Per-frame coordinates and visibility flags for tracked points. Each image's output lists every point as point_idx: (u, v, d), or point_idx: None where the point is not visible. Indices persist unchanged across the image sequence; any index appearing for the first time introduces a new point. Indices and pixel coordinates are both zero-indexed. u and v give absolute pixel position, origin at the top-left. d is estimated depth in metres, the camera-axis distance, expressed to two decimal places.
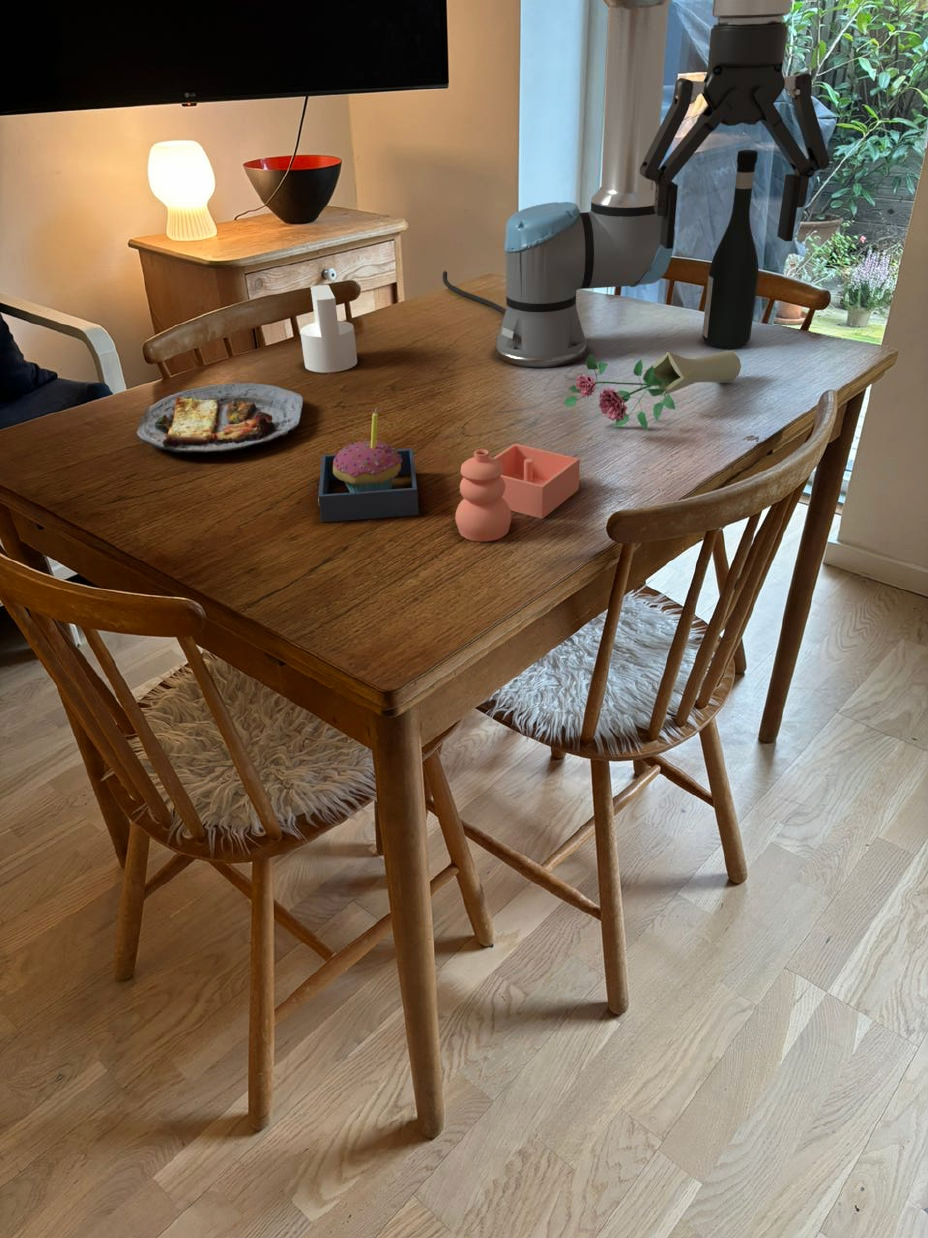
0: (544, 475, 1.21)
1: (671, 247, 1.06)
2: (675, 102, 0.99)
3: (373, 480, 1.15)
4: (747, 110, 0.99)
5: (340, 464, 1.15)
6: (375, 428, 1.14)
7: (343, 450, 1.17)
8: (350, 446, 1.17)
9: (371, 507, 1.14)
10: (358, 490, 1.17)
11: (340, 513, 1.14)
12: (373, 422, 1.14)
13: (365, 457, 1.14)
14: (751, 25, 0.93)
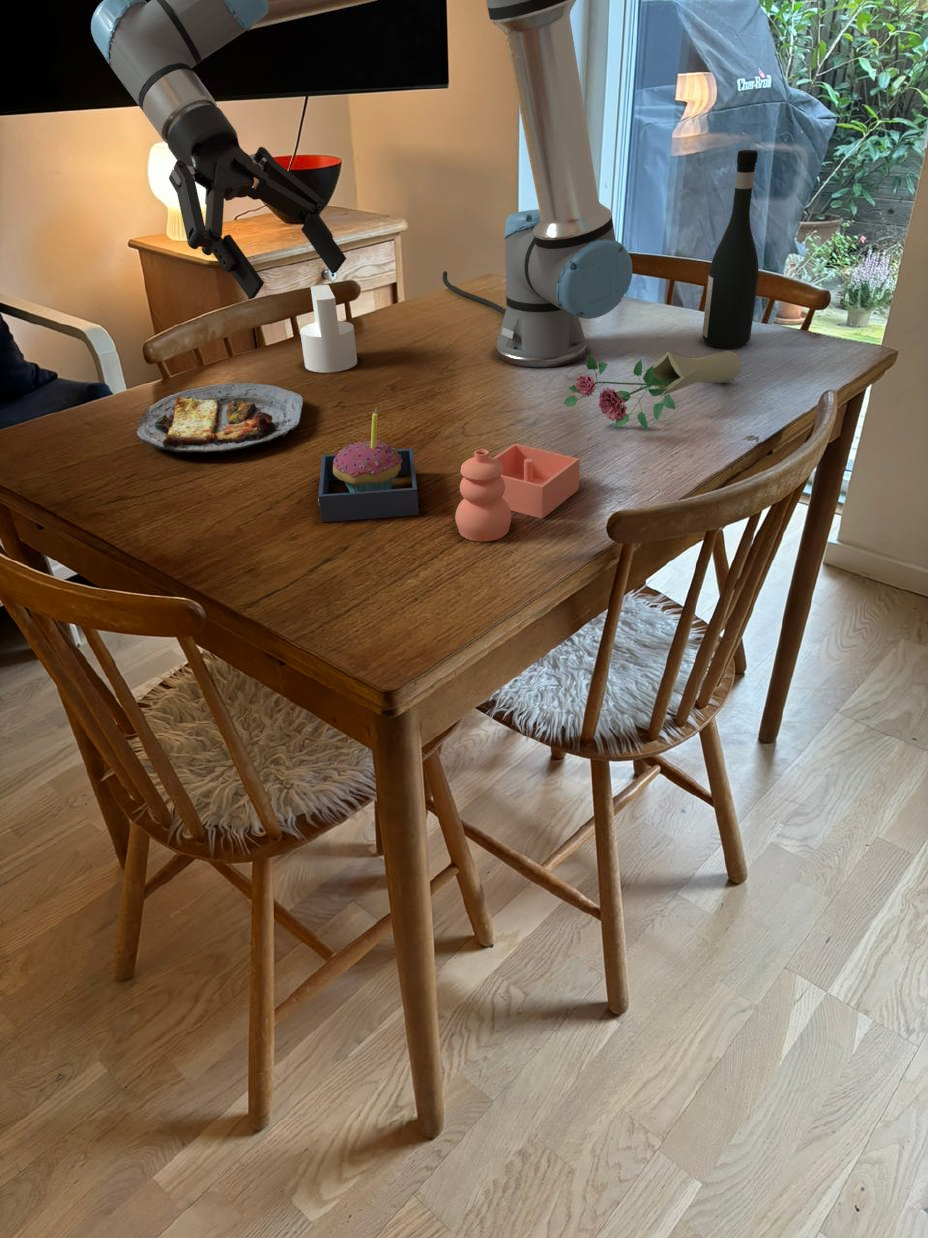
0: (544, 475, 1.21)
1: (332, 272, 1.16)
2: None
3: (373, 480, 1.15)
4: None
5: (340, 464, 1.15)
6: (375, 428, 1.14)
7: (343, 450, 1.17)
8: (350, 446, 1.17)
9: (371, 507, 1.14)
10: (358, 490, 1.17)
11: (340, 513, 1.14)
12: (373, 422, 1.14)
13: (365, 457, 1.14)
14: None
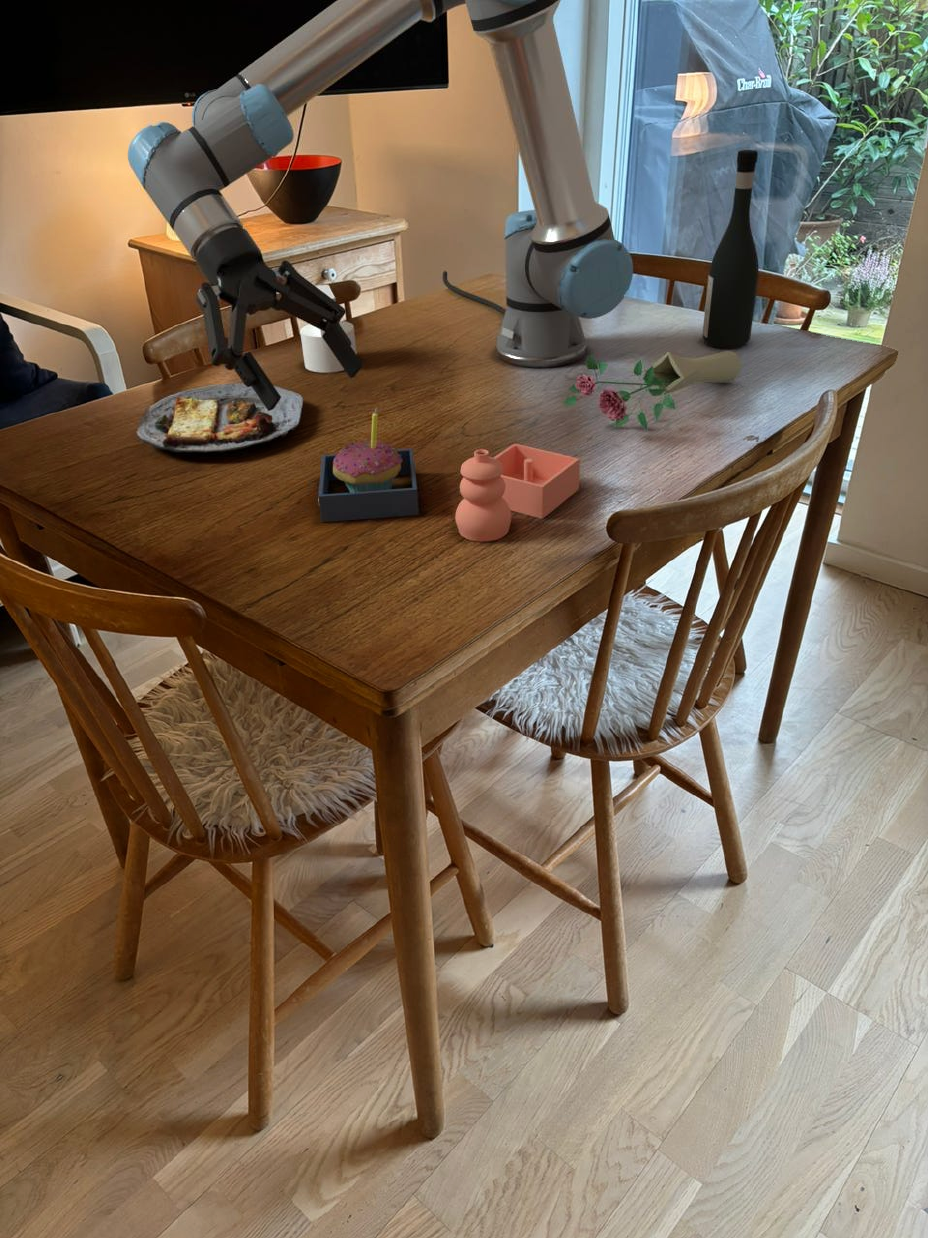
0: (544, 475, 1.21)
1: (350, 377, 1.22)
2: None
3: (373, 480, 1.15)
4: None
5: (340, 464, 1.15)
6: (375, 428, 1.14)
7: (343, 450, 1.17)
8: (350, 446, 1.17)
9: (371, 507, 1.14)
10: (358, 490, 1.17)
11: (340, 513, 1.14)
12: (373, 422, 1.14)
13: (365, 457, 1.14)
14: None
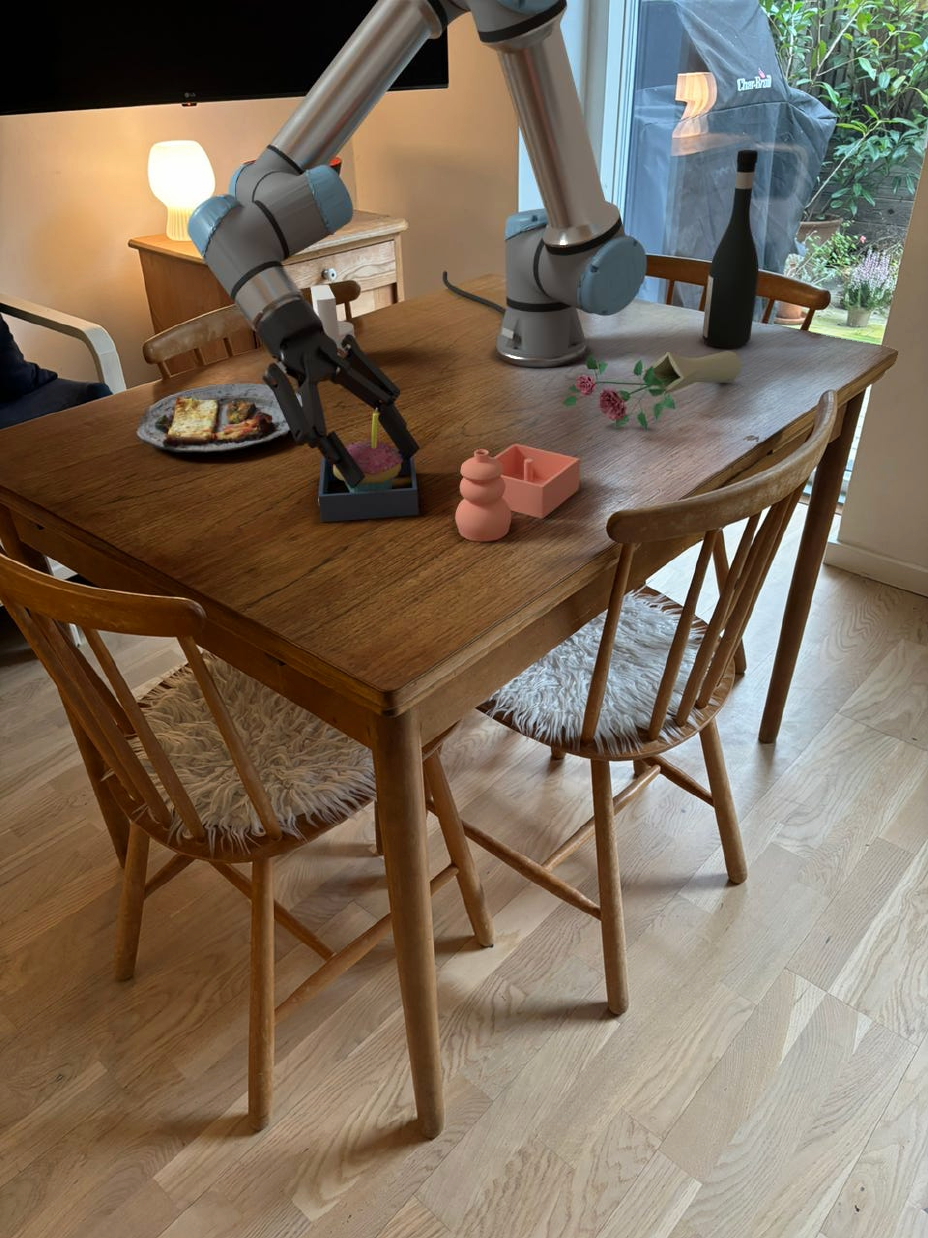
0: (544, 475, 1.21)
1: (406, 459, 1.20)
2: None
3: (373, 480, 1.15)
4: None
5: None
6: (375, 428, 1.14)
7: None
8: (350, 446, 1.17)
9: (371, 507, 1.14)
10: (358, 490, 1.17)
11: (340, 513, 1.14)
12: (373, 422, 1.14)
13: (366, 457, 1.14)
14: None
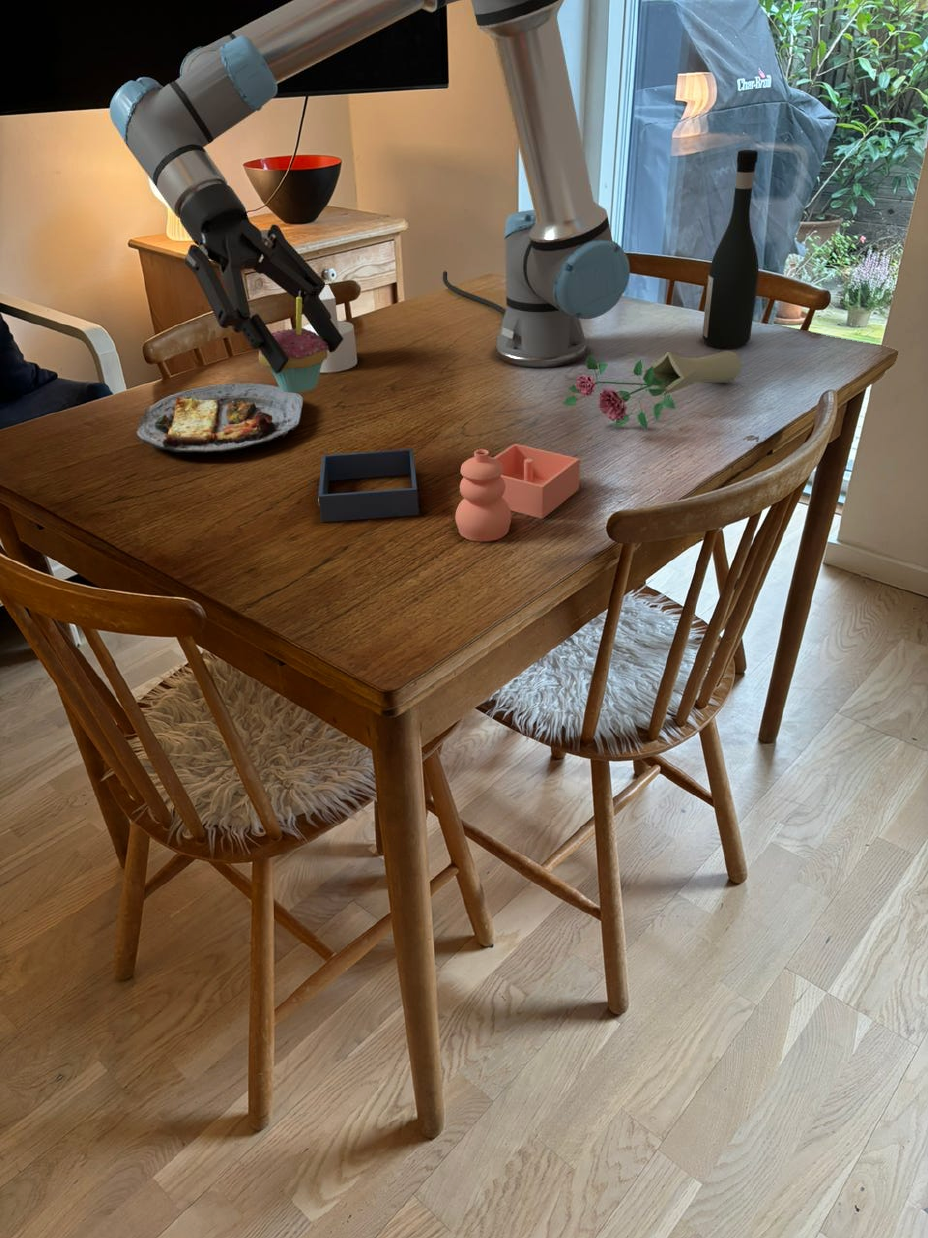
0: (544, 475, 1.21)
1: (330, 351, 1.20)
2: None
3: (298, 365, 1.15)
4: None
5: None
6: (299, 312, 1.14)
7: None
8: (276, 333, 1.17)
9: (371, 507, 1.14)
10: (284, 377, 1.17)
11: (340, 513, 1.14)
12: (297, 306, 1.14)
13: (290, 342, 1.14)
14: None
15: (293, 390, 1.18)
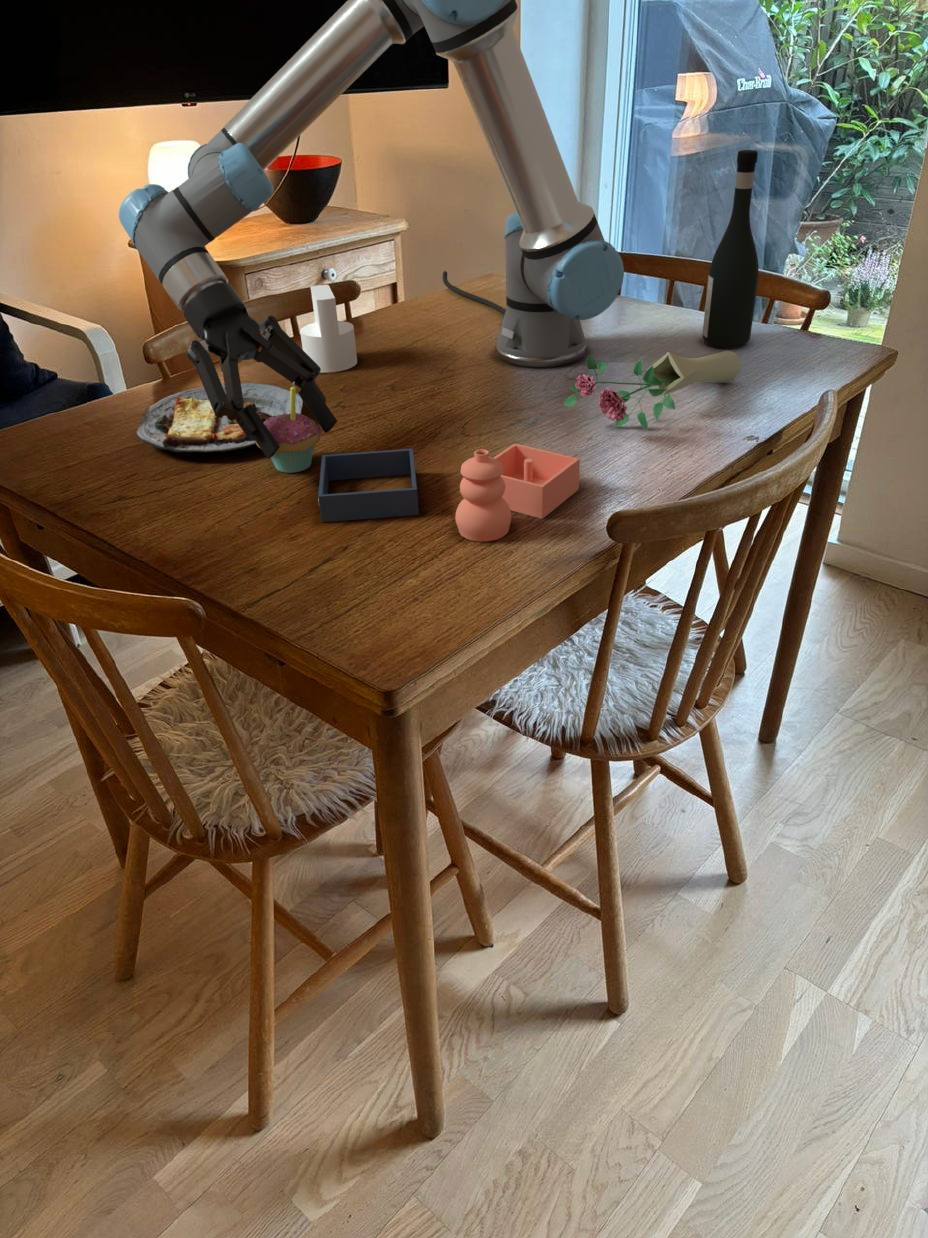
0: (544, 475, 1.21)
1: (325, 432, 1.28)
2: None
3: (292, 449, 1.23)
4: None
5: None
6: (293, 401, 1.23)
7: (265, 422, 1.25)
8: (271, 418, 1.25)
9: (371, 507, 1.14)
10: (279, 459, 1.25)
11: (340, 513, 1.14)
12: (291, 395, 1.22)
13: (285, 428, 1.23)
14: None
15: (288, 471, 1.27)
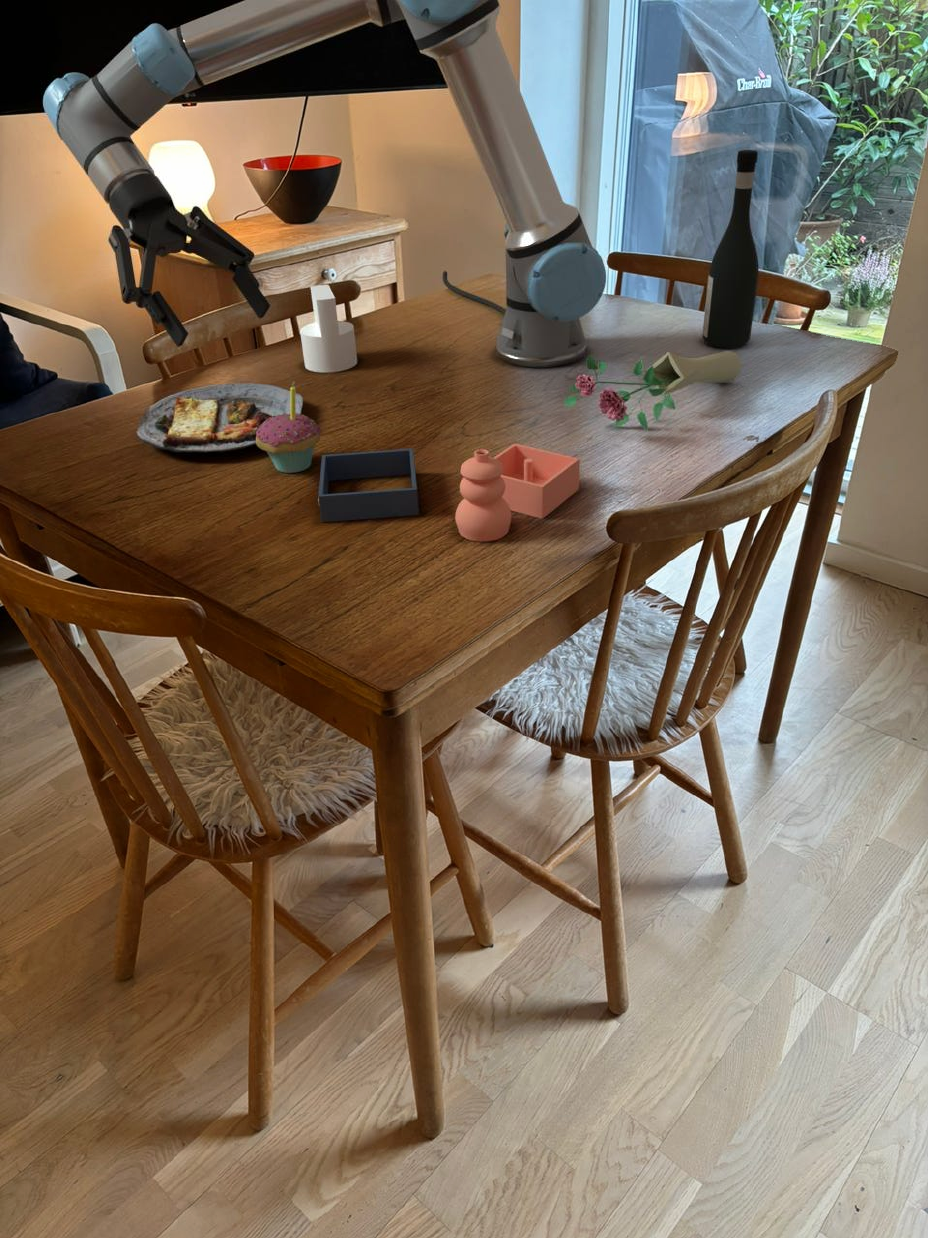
0: (544, 475, 1.21)
1: (259, 317, 1.30)
2: None
3: (292, 449, 1.23)
4: None
5: (261, 435, 1.24)
6: (293, 401, 1.23)
7: (265, 422, 1.25)
8: (271, 418, 1.25)
9: (371, 507, 1.14)
10: (279, 459, 1.25)
11: (340, 513, 1.14)
12: (291, 395, 1.22)
13: (285, 428, 1.23)
14: None
15: (288, 471, 1.27)
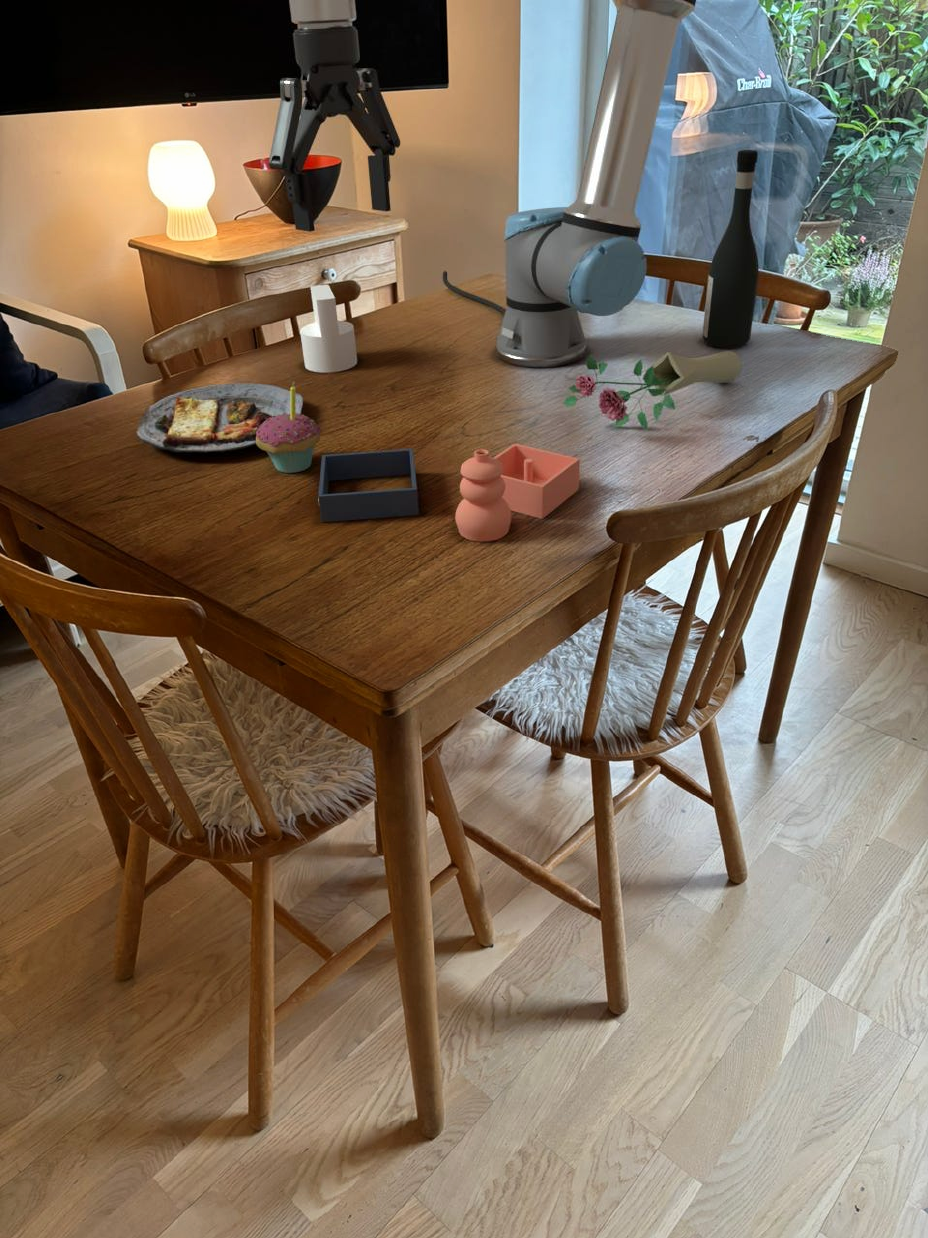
0: (544, 475, 1.21)
1: None
2: None
3: (292, 449, 1.23)
4: None
5: (261, 435, 1.24)
6: (293, 401, 1.23)
7: (265, 422, 1.25)
8: (271, 418, 1.25)
9: (371, 507, 1.14)
10: (279, 459, 1.25)
11: (340, 513, 1.14)
12: (291, 395, 1.22)
13: (285, 428, 1.23)
14: None
15: (288, 471, 1.27)
